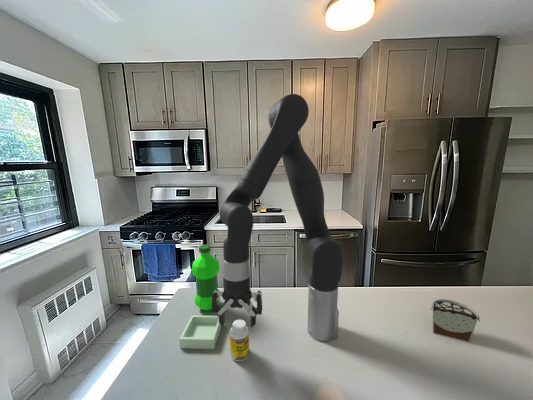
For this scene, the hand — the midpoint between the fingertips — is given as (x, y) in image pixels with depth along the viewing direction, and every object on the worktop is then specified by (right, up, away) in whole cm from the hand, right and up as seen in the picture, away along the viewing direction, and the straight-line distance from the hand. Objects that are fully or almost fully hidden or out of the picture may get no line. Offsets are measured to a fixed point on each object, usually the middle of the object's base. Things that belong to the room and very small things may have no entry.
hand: (237, 324), depth 66 cm
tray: (-13, -8, +9) cm, 18 cm away
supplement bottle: (+1, -10, +1) cm, 10 cm away
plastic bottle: (-15, -6, +24) cm, 28 cm away
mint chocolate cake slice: (+69, -8, +9) cm, 70 cm away
